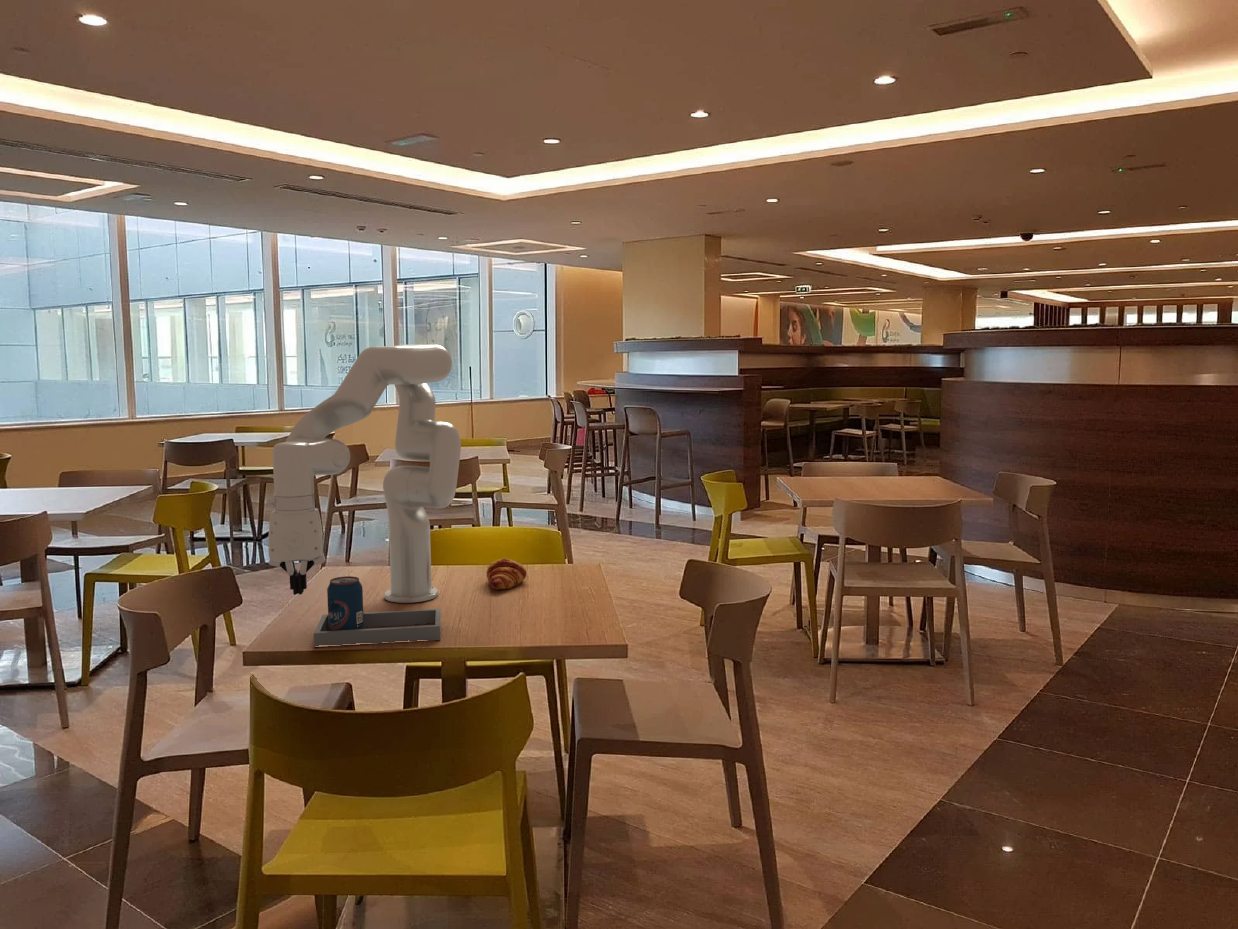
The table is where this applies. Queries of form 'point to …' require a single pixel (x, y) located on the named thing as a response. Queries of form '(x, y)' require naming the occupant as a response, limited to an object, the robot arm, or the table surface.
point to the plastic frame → (384, 633)
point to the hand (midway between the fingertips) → (298, 592)
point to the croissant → (505, 574)
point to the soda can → (345, 604)
